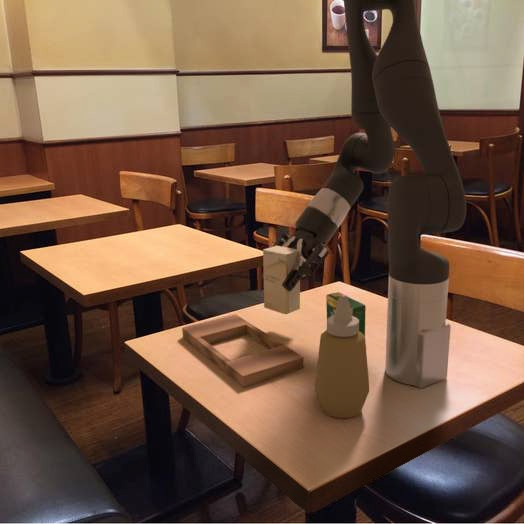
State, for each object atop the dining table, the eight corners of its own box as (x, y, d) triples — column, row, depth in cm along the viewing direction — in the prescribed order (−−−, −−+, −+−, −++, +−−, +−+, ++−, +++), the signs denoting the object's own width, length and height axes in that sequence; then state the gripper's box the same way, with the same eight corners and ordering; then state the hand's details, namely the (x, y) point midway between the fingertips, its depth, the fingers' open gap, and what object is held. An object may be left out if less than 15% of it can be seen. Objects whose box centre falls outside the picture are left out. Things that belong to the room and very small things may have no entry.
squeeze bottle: (336, 389, 92) (337, 283, 86) (379, 407, 86) (383, 294, 81) (303, 410, 86) (302, 297, 81) (347, 430, 81) (350, 311, 75)
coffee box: (324, 363, 100) (325, 293, 96) (338, 359, 101) (339, 290, 98) (350, 383, 93) (352, 308, 89) (365, 379, 94) (367, 305, 91)
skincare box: (263, 308, 114) (260, 249, 111) (278, 302, 117) (276, 244, 114) (287, 315, 110) (285, 254, 107) (302, 308, 113) (300, 249, 110)
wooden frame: (303, 367, 99) (303, 357, 98) (243, 387, 93) (243, 376, 92) (236, 323, 119) (235, 314, 118) (182, 337, 113) (182, 327, 112)
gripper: (291, 200, 118) (244, 265, 115) (334, 210, 106) (283, 282, 103) (312, 222, 122) (267, 285, 119) (356, 233, 110) (308, 304, 107)
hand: (275, 283), depth 111 cm, fingers closed on skincare box, 7 cm apart
